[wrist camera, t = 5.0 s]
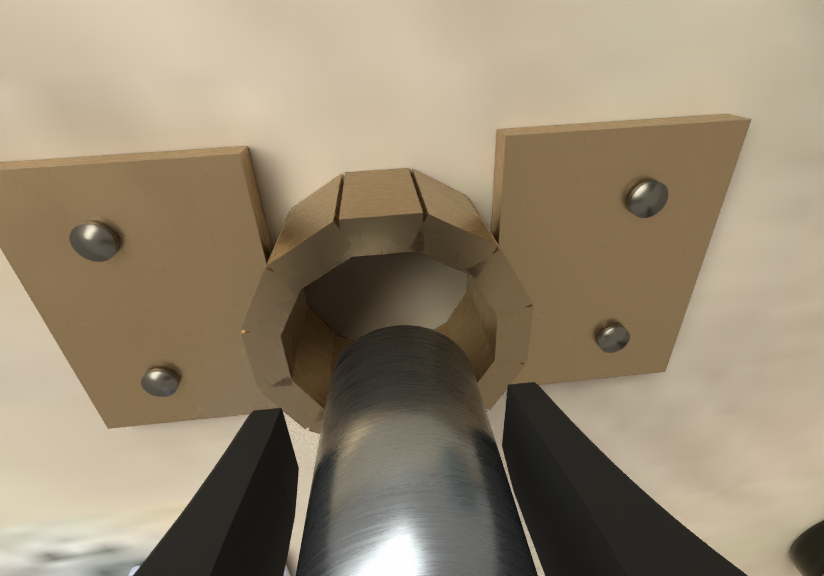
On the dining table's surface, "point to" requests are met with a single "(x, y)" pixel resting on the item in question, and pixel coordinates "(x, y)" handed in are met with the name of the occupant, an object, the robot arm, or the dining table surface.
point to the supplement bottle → (810, 551)
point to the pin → (409, 468)
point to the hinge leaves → (360, 236)
